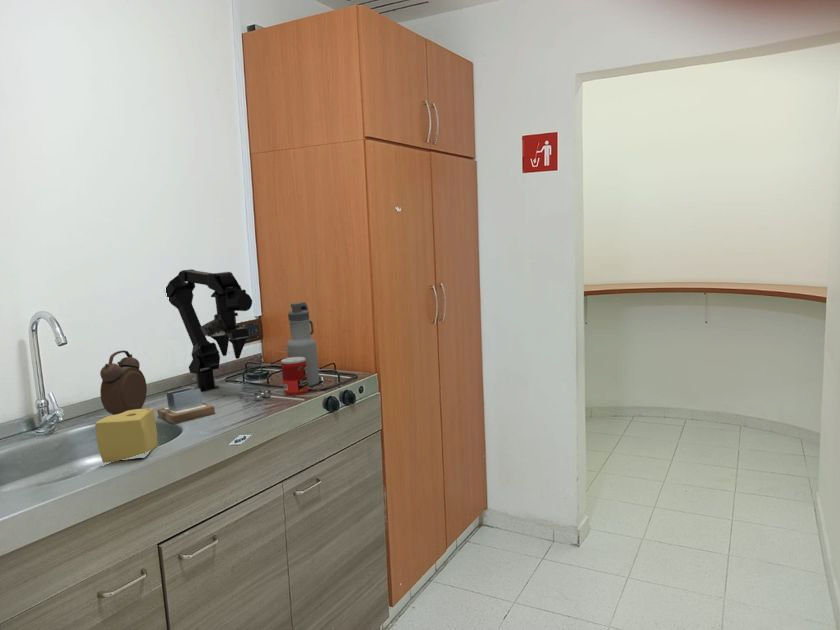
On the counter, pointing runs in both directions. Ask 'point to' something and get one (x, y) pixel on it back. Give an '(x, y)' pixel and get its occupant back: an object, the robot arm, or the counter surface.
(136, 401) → the alarm clock
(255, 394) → the loose bolts
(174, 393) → the housing
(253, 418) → the counter surface
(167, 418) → the picture frame
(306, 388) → the canned food
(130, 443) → the cheese
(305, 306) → the water bottle
